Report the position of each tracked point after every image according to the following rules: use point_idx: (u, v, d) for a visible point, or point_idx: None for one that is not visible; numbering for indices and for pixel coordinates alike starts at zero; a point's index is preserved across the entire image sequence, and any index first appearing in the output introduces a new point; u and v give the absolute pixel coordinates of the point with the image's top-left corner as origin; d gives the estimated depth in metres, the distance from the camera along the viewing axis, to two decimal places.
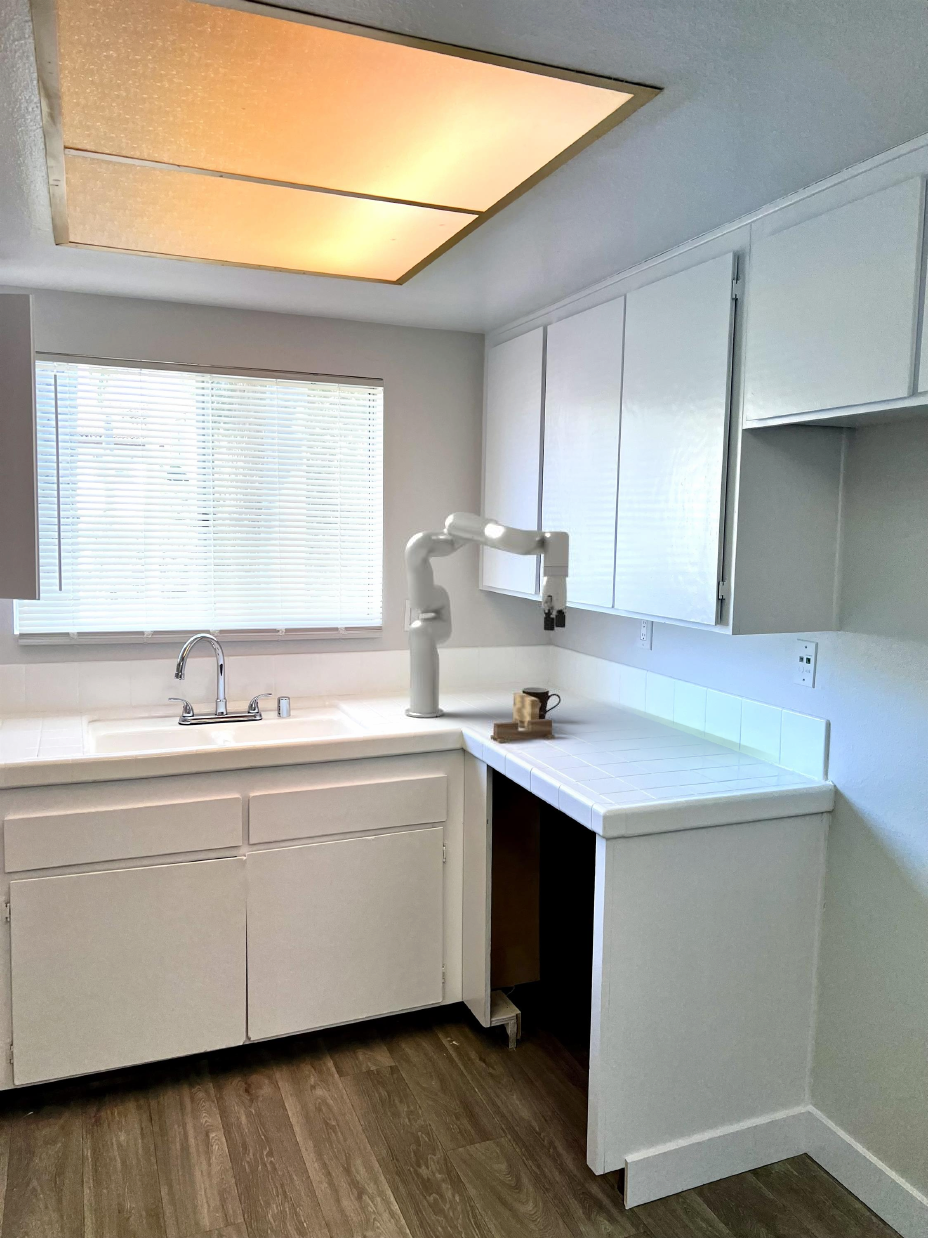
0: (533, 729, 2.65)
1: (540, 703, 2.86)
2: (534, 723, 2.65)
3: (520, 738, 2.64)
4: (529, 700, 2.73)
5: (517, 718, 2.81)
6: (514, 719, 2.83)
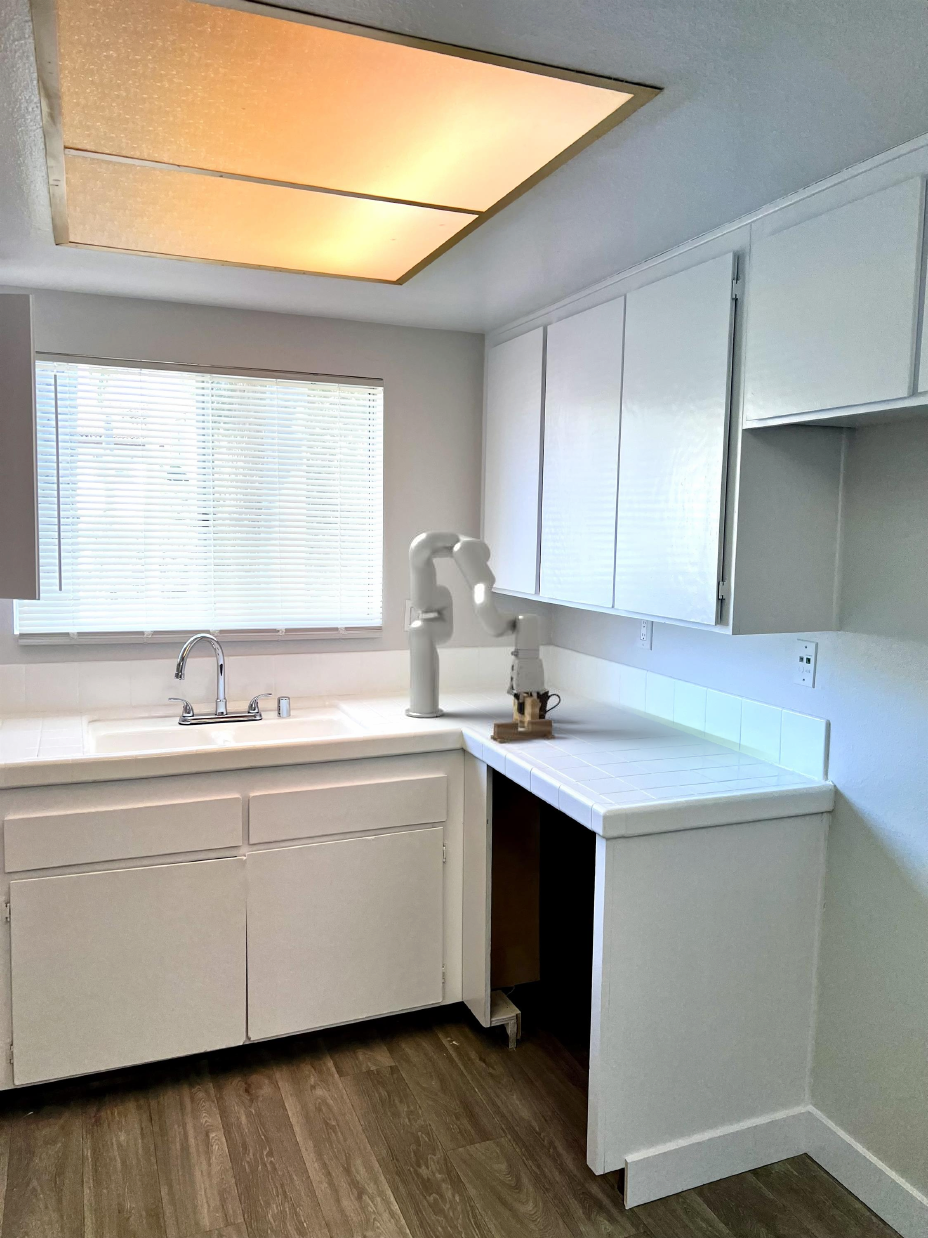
0: (533, 729, 2.65)
1: (540, 703, 2.86)
2: (534, 723, 2.65)
3: (520, 738, 2.64)
4: (529, 700, 2.73)
5: (517, 718, 2.81)
6: (514, 719, 2.83)
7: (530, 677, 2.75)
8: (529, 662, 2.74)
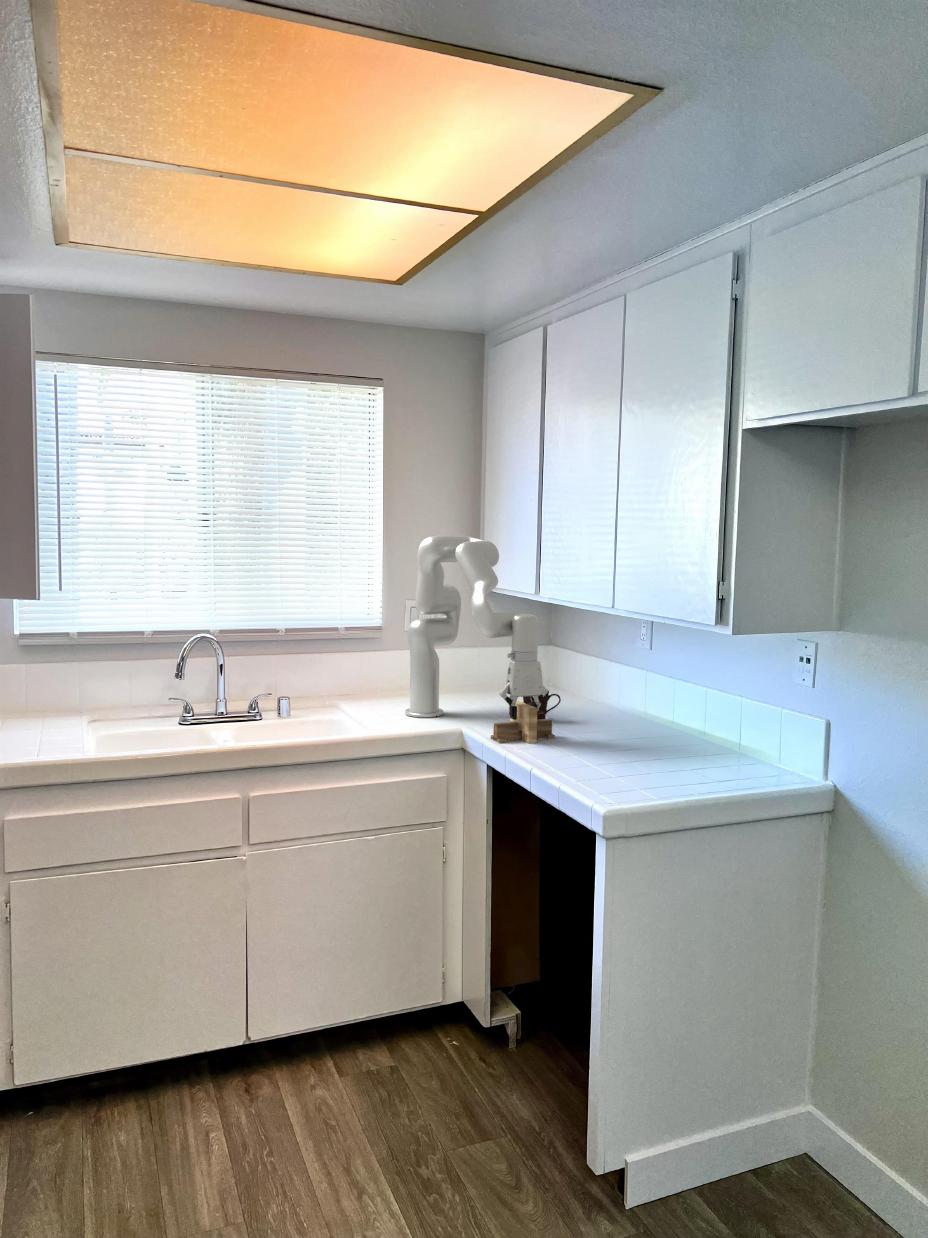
0: None
1: (540, 703, 2.86)
2: None
3: (520, 738, 2.64)
4: (527, 709, 2.60)
5: None
6: None
7: (528, 681, 2.61)
8: (526, 665, 2.61)
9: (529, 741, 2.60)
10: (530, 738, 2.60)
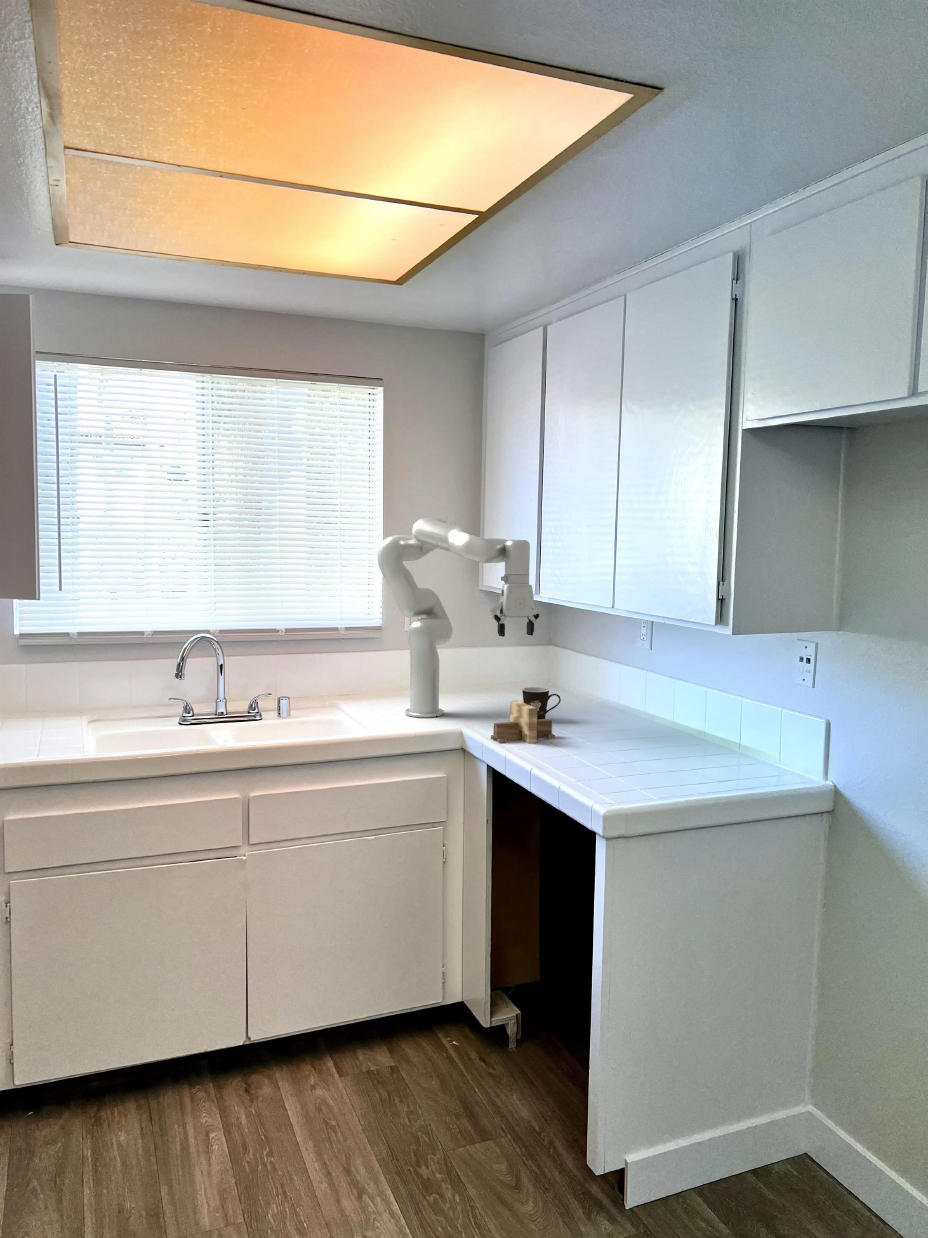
0: None
1: (540, 703, 2.86)
2: None
3: (520, 738, 2.64)
4: (527, 709, 2.60)
5: None
6: None
7: (520, 602, 2.76)
8: (519, 587, 2.75)
9: (529, 741, 2.60)
10: (530, 738, 2.60)
